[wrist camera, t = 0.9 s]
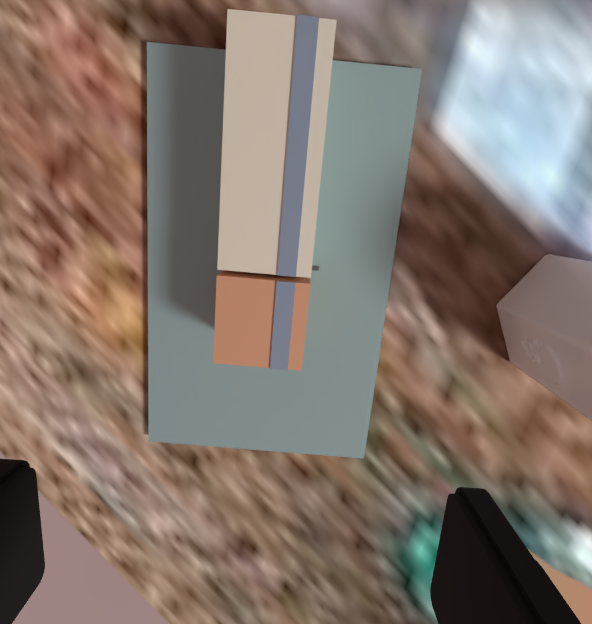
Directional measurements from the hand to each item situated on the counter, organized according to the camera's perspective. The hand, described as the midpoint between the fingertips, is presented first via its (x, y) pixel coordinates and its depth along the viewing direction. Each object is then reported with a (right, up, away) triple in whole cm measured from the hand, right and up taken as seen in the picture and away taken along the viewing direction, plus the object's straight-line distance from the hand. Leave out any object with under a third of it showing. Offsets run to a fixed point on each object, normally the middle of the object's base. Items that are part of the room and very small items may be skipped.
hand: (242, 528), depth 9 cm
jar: (+19, +5, +19) cm, 27 cm away
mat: (0, +7, +18) cm, 19 cm away
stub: (-1, +5, +18) cm, 18 cm away
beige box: (0, +14, +16) cm, 21 cm away
